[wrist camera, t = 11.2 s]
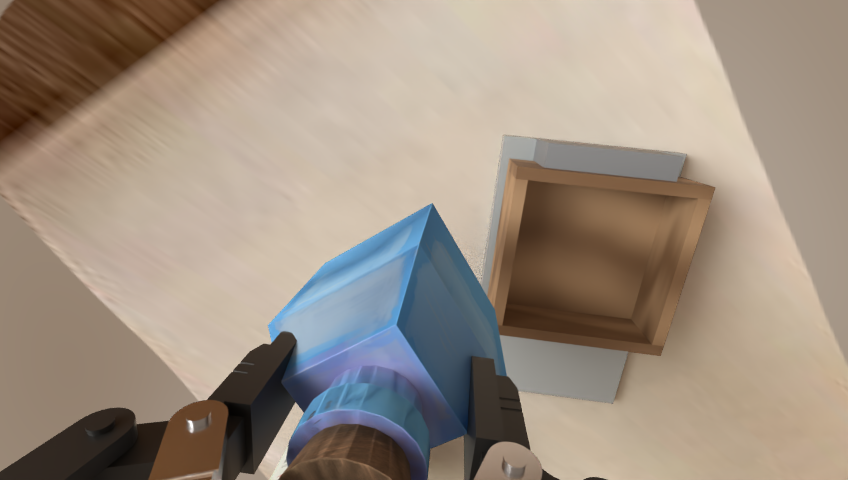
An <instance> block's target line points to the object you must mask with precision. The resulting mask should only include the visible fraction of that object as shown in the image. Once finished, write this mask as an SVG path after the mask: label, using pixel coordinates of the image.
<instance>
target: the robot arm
mask: <svg viewBox="0 0 848 480" xmlns="http://www.w3.org/2000/svg"><path fill="white" fill-rule="evenodd" d="M296 342H297V340H296V338H295V336H294V335H293V333H291V332H286V331H282V332H281V333H280V334H279V335H278V336H277V337H276V338H275V340H274V341H273V342H272V343H271V344H270V345H269V344H262V345H261V346H259V347H257V348H255V349H254V350H252V351H250V352H249V353H248V354H247V355H246V357H245V358H244V359H243V360H242V361H241V364H238V366H237V367H236V368H235V369H234V371H233V372H231V373H230V375H229V376H228V377H227V378H226V379H225V380H224V381H223V382H222V384H221V385H220V386H219V387H218V388H217V389H216V390H215V391H214V393H213V394H212V395H211V396H210V397H209V398H208V399H207V400H203V401H198V402H194V403H191V404H189V405H187V406H185V407H183V408H181V409H180V410H179V411H177V412H176V413H175V414H174V415H173V416H172V417H171V418H170V420H169V421H163V422H154V423H144V424H136V418H135V414H134V413H133V412H132V411H131V410H129V409H126V408H109V409H105V410H101V411H98V412H95V413H92V414H90V415H88V416H86V417H84V418H82V419H81V420H79V421H78V422H76V423H74V424H73V425H71V426H70V427H68V428H67V429H65V430H64V431H62V432H61V433H59V434H57V435H56V436H54V437H53V438H51V439H50V440H48V441H47V442H45V443H44V444H42V445H41V446H39V447H38V448H36V449H35V450H33V451H31V452H30V453H28V454H27V455H25V456H24V457H22V458H21V459H19V460H18V461H16V462H15V463H13V464H11V465H10V466H8V467H7V468H5V469H4V470H2V471H1V472H0V480H235V479H236V478H237V476H238V475H239V473H240V472H242V473H248V474H254V473H255V471H256V470H257V468H258V466H259V465H260V463H261V461H262V459H263V458H264V456H265V454H266V452H267V451H268V449H269V447H270V445H271V444H272V442H273V440H274V439H275V437H276V435H277V433H278V432H279V430H280V428H281V426H282V425H283V423H284V421H285V419H286V418H287V416H288V414H289V412H290V411H291V409H292V407H293V405H294V404H295V400H294V399H293V398H292V396H291V395H290V394H289V392H288V391H287V390H286V389H285V387H284V386H283V385H282V383H281V381H282V379H283V376H284V374H285V371H286V368H287V366H288V363H289V360H290V358H291V355H292V353H293V350H294V347H295V345H296ZM464 480H559V479H557V478H555V477H553V476H552V475H550V474H548V473H547V472H546V471H544V470H543V469H542V466H541V464H540V461H539V460H538V458H537V457H536V456H535V455H534V453H532V452H531V450H530V446H529V441H528V436H527V432H526V427H525V422H524V417H523V413H522V408H521V403H520V398H519V394H518V389H517V387H516V386H515V384H514V383H513V382H512V380H511V379H510V378H509V377H508V376H500V375H496V371H495V364H494V359H491V358H483V357H476V356H471V373H470V390H469V407H468V425H467V434H466V435H464ZM584 480H606V479H603V478H598V477H590V478H586V479H584Z"/></svg>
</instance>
